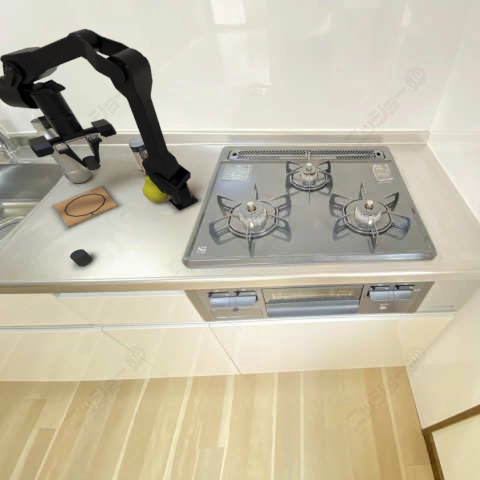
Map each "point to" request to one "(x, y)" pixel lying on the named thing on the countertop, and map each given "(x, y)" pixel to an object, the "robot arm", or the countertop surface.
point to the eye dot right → (91, 162)
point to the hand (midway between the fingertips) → (92, 164)
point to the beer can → (138, 150)
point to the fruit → (152, 191)
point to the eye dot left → (81, 257)
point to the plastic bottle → (63, 156)
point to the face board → (85, 206)
